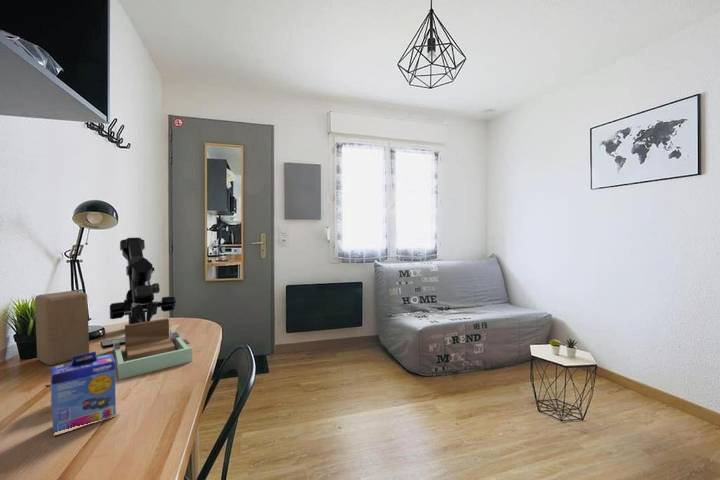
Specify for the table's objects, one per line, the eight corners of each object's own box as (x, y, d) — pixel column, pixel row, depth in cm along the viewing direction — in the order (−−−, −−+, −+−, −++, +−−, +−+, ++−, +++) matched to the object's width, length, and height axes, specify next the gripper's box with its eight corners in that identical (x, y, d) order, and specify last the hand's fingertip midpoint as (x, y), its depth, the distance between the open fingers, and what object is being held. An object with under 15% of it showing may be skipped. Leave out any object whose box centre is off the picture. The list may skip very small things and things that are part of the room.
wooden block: (90, 355, 101) (88, 292, 100) (48, 367, 92) (45, 298, 91) (77, 349, 106) (75, 289, 105) (36, 360, 97) (33, 295, 97)
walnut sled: (125, 352, 102) (124, 325, 102) (168, 343, 110) (167, 318, 110) (128, 364, 93) (127, 334, 93) (175, 353, 101) (174, 325, 101)
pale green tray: (102, 351, 103) (101, 339, 103) (182, 336, 118) (182, 325, 118) (104, 382, 82) (104, 367, 82) (203, 358, 97) (202, 345, 97)
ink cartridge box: (52, 439, 60) (49, 362, 59) (52, 426, 64) (49, 354, 63) (118, 417, 67) (115, 348, 66) (114, 406, 71) (112, 342, 70)
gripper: (108, 279, 104) (111, 319, 96) (174, 273, 116) (181, 309, 108) (108, 299, 110) (111, 338, 102) (170, 292, 122) (177, 327, 114)
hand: (146, 327), depth 106 cm, fingers closed, pressing on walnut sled
